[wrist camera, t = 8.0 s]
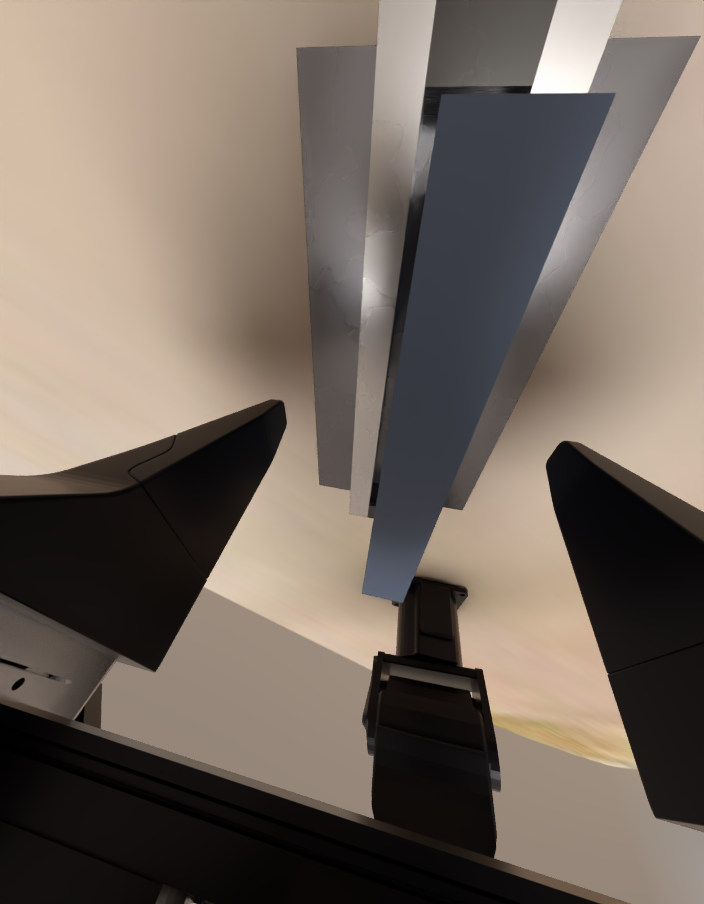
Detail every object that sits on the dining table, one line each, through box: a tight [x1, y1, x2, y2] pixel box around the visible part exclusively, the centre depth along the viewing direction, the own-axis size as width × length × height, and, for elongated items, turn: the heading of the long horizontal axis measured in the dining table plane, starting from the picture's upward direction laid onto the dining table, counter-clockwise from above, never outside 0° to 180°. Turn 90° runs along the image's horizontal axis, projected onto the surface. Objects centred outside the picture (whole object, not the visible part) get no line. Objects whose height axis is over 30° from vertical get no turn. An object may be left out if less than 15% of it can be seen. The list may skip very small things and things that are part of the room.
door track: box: [296, 0, 701, 518], centre depth 12 cm, size 18×10×3 cm, turn 177°
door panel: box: [362, 93, 616, 603], centre depth 9 cm, size 12×2×8 cm, turn 177°
